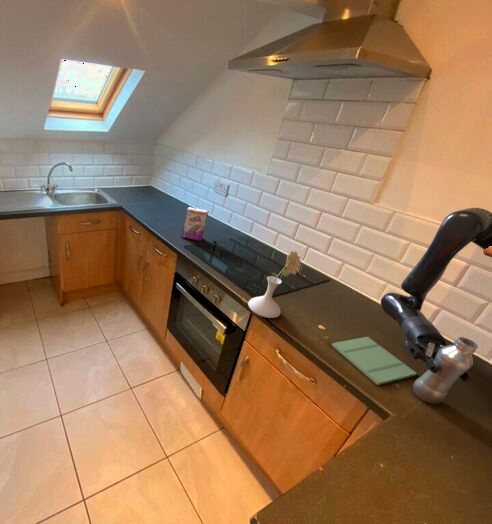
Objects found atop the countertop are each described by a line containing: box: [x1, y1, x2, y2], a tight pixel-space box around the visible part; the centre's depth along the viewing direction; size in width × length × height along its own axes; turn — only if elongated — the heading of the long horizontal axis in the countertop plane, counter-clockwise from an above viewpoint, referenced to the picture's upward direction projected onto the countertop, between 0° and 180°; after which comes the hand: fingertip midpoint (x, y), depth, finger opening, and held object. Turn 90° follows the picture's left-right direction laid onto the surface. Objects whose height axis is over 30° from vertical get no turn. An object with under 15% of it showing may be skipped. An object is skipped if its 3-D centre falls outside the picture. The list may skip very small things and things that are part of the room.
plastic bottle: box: [412, 336, 479, 405], centre depth 78 cm, size 6×7×20 cm
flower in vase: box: [247, 250, 302, 319], centre depth 105 cm, size 13×11×25 cm
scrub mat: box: [331, 336, 418, 386], centre depth 93 cm, size 16×16×1 cm
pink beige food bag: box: [181, 206, 210, 242], centre depth 162 cm, size 11×5×16 cm, turn 74°
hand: (452, 375), depth 75 cm, fingers closed on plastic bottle, 6 cm apart
